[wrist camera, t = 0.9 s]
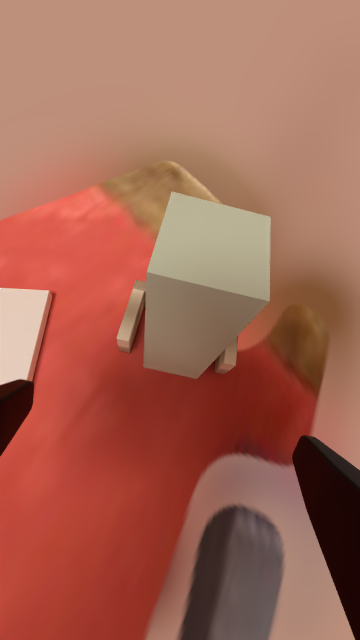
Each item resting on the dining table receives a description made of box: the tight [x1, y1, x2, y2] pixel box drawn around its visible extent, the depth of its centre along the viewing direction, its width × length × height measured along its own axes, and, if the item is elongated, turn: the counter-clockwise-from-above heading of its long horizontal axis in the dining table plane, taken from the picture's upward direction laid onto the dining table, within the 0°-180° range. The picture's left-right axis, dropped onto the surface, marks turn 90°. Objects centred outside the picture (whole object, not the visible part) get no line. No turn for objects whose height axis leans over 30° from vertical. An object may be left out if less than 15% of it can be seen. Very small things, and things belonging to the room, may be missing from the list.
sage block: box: [143, 192, 271, 379], centre depth 17 cm, size 5×5×14 cm
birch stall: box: [116, 280, 238, 374], centre depth 22 cm, size 6×10×3 cm, turn 80°
